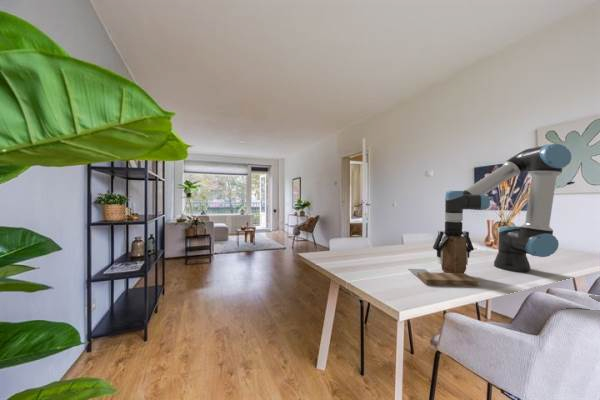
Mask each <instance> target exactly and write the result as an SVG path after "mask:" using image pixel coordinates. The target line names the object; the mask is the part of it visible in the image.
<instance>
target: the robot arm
mask: <svg viewBox="0 0 600 400" xmlns="http://www.w3.org/2000/svg"><path fill="white" fill-rule="evenodd" d="M571 161H572V153H571V151H570V149H569V148H567V146H565V145H563V144H560V143H552V144H544V145H541V146H535V147H531V148H527V149H526V148H525V149H524V150H522V151H520V152H519V153H517V154H515V155H513V156H512V157H510V158H509V159H507V160H506V161H504V162H503V163H502V166H500V167H498V168H497V169H495V170H494V171H492V172H491V173H489V174H488V175H486V176H485V177H483V178H481V179H480V180H478V181H477V182H475V183H474V184H472V185H470V186H469V187H468V188H465V189H464V190H463V191H462V190H448V191H446V192H445V197H444V198H445V199H444V202H445V204H444V205H445V211H444V213H445V214H444V220H445V221H444V230H438V231H437V237H436V239H435V242H434V244H433V247H432V249H433V250H436V257H437V259H438V264H440V265H442V264H443V251H441V250H442V249H443V247H444V246H445V245H446V243H447V242H448V241H449V237H450V236H464V237H465V238H466V250H467V256H466V257H467V260H466V266H468V265H469V264H468V262H469V258H470V253H471V252H472V251H474V250H475V248H474V245H473V243H472V241H471V238H470V232H469V231H467V230H464V231H463V222H462V221H463V219H464V217H463V212H464V210H479V211H481V210H487V209H489V207H490V206H491V199H490V197H489V195H487V193H489V192H491V191H492V190H495V188H498V187H499V186H500V185H502V184H504V183H505V182H507V181H509V179H511V178H514V177H518V176H520V175H521V174H524V173H527V172H528V174H529V175H531V180H530V187H529V194H528V202H527V208H526V215H525V222H524V224H522V225H520V226H513V225H512V226H511V225H510V226H507V225H506V226H505V225H504V226H503V225H502V226H499V228H498V242H497V243H498V247H497V249H498V250H497V251H498V252H497V254H496V257H495V258H494V262H493V266H494V267H496V268H498V269H501V270H505V271H509V272H518V273H520V272H521V273H529V272H531V265H530V262H529V259H528V257H527V254H528V255H530V256H532V257H539V258H547V257H550V256H551V255H554V254H555V253H556V252H557V250H558V248H559V243H560V242H559V240H558V239H557V237H556V236H555V235H553V234H554V229H552V227H550V225H551V224H550V223H551V216H552V211H553V210H552V209H553V203H554V195H555V190H556V189H555V188H556V183H557V177H558V176H560V175H561V174H563V173H562V172H563V168H565V167H567V166H568V165H569V164H570V163H571ZM445 235H446V236H447V237H448V236H449V237H448V238H444V239H443V237H444V236H445ZM442 239H443V241H442Z"/></svg>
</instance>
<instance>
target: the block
mask: <svg viewBox="0 0 600 400" xmlns="http://www.w3.org/2000/svg"><path fill="white" fill-rule="evenodd" d="M448 237H449V236H448ZM448 237H447V236H446V235H445V234H444V235H443V237H442V240H441V242H442V241H443V239H444V238H448ZM466 245H467V243H466V238H465V237H464V235H461V236H450V237H449V241H448V242H447V243H446V245H445V246H444V247H443V249H442V250H441V251H443V264H441V270H442V271H443V273H465V272H466V270H467V265H466V260H467V257H466V256H467V250H466Z"/></svg>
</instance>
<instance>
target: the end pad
mask: <svg viewBox="0 0 600 400" xmlns="http://www.w3.org/2000/svg"><path fill="white" fill-rule="evenodd" d="M407 270H408V271H409V270H410V271H411V273H412V274H413V275H414V276H415V277H417V272H429V271H428V270H427V269H425V268H407ZM410 271H409V272H410ZM417 278H418V277H417Z"/></svg>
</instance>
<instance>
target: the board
mask: <svg viewBox="0 0 600 400" xmlns="http://www.w3.org/2000/svg"><path fill="white" fill-rule="evenodd" d="M417 278H418V279H419V280H420V281H421V282H422V283H423V284H424V285H426V286H449V287H450V286H453V287H479V280H477V279H476V278H474V277H471V276H470V275H468V274H466V273H465V272H464V273H445V272H429V271H428V272H417Z"/></svg>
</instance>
